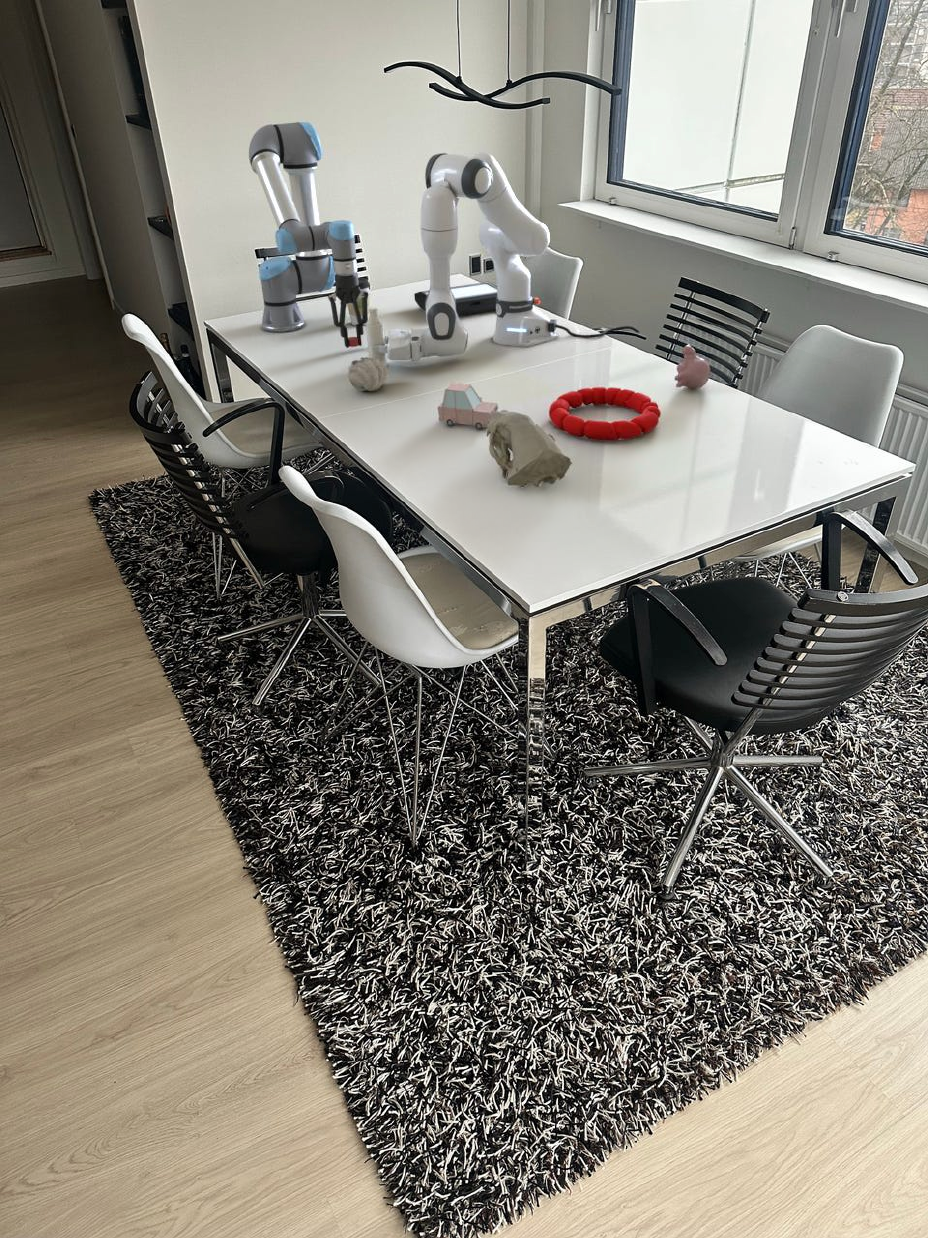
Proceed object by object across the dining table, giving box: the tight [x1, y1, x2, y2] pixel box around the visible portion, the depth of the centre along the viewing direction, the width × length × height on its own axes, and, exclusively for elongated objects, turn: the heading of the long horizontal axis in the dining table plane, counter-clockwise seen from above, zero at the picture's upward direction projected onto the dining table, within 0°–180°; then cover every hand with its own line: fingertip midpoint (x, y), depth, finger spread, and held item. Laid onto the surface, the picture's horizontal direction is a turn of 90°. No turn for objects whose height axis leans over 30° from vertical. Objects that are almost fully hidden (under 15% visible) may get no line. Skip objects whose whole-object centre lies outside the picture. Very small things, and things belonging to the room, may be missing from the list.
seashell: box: [347, 356, 388, 392], centre depth 266 cm, size 10×15×10 cm
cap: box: [348, 336, 359, 348], centre depth 300 cm, size 4×4×2 cm
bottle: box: [365, 306, 388, 367], centre depth 282 cm, size 6×6×18 cm
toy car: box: [437, 382, 499, 431], centre depth 243 cm, size 9×15×10 cm, turn 70°
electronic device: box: [413, 281, 497, 317], centre depth 337 cm, size 32×6×20 cm
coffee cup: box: [347, 277, 371, 326], centre depth 323 cm, size 10×10×15 cm
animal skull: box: [485, 409, 573, 489], centre depth 216 cm, size 17×25×20 cm
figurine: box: [674, 344, 711, 390], centre depth 259 cm, size 9×11×12 cm
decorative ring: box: [548, 386, 661, 442], centre depth 242 cm, size 7×30×30 cm
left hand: (353, 345), depth 301 cm, fingers closed on cap, 4 cm apart
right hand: (373, 344), depth 284 cm, fingers closed on bottle, 5 cm apart
